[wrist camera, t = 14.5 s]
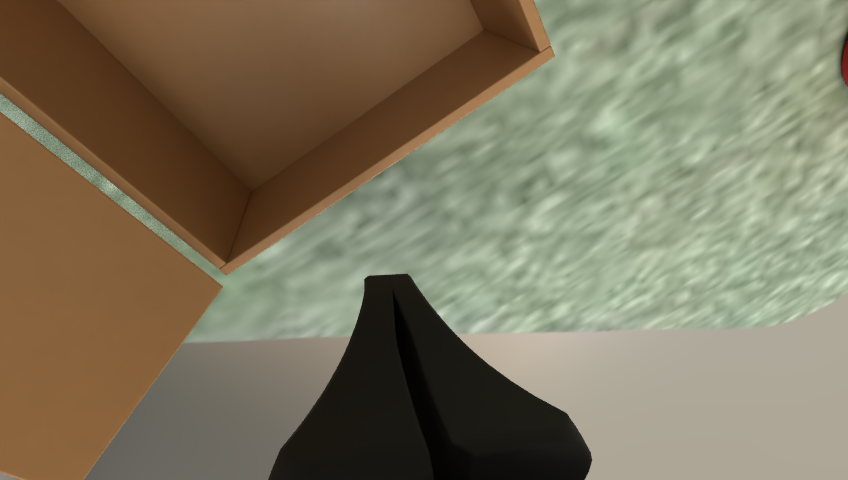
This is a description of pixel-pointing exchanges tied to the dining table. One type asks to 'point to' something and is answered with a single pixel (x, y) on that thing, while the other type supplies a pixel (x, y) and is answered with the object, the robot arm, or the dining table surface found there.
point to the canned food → (845, 64)
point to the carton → (256, 97)
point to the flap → (79, 312)
